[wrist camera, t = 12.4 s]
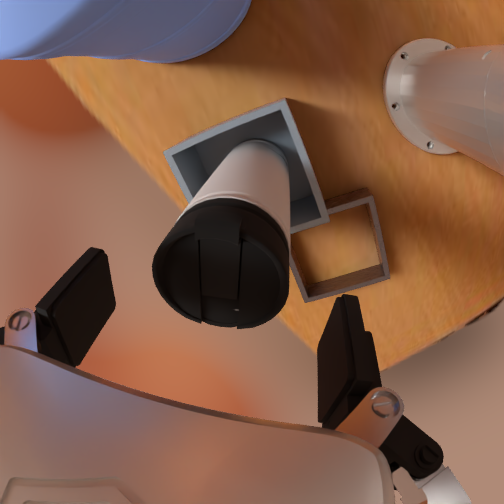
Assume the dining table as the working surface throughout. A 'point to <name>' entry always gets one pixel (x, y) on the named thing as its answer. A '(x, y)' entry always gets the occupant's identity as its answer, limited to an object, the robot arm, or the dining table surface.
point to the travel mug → (232, 242)
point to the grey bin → (243, 128)
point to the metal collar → (351, 279)
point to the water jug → (116, 28)
